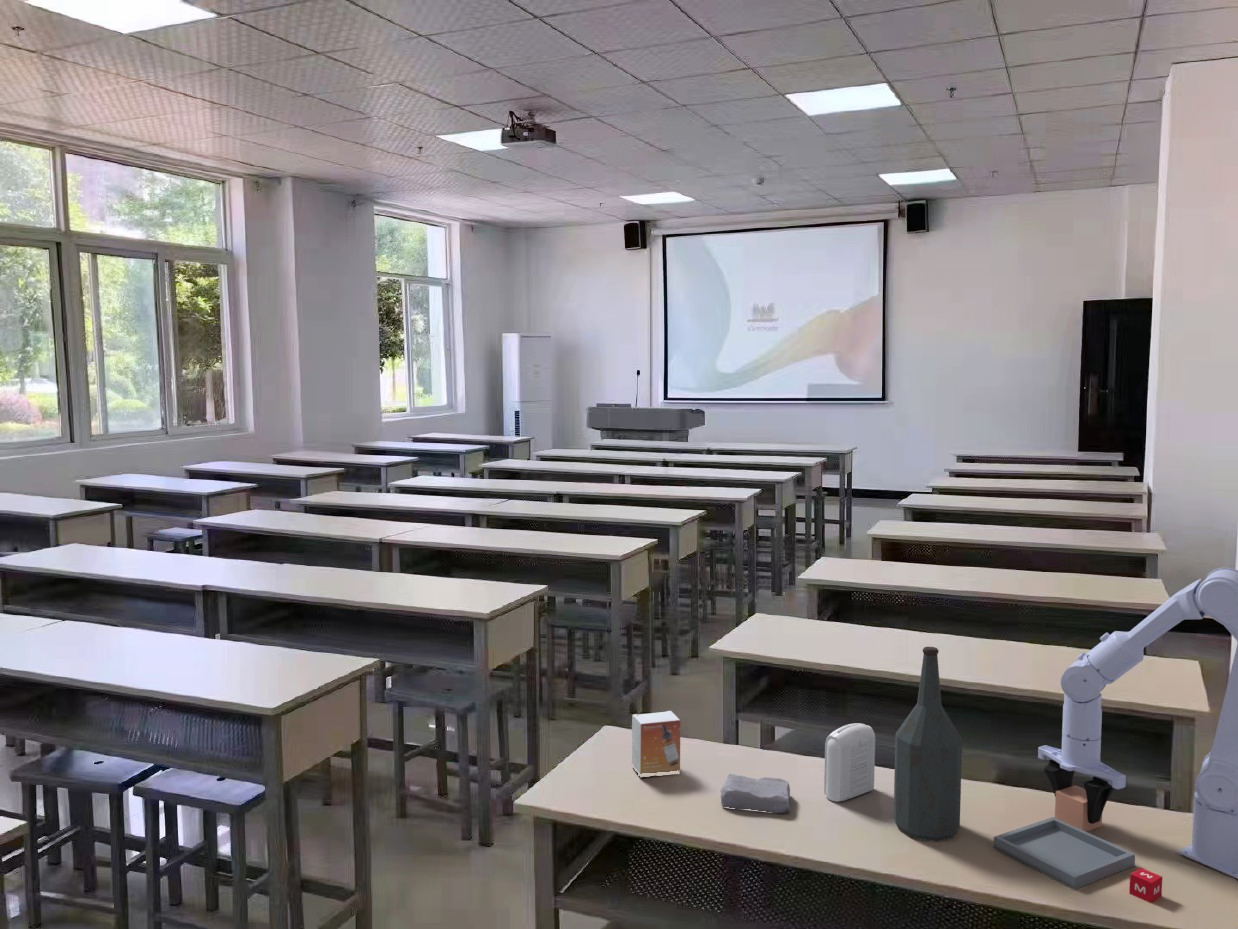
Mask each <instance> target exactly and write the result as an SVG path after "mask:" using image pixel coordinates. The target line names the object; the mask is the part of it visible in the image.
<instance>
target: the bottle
mask: <svg viewBox="0 0 1238 929" xmlns="http://www.w3.org/2000/svg"><path fill="white" fill-rule="evenodd" d="M922 653H923V658H922V664H921V672H920V679H919V686H918V694H917V701H916V702H917V703H916V704H915V706H914V707H913V708H912V710H911V711H910V713H909V714H908V716H906V718H905V719H904V720H903V722H902V724H901V725H900V726H899V728H898V729H897V731H896V732H895V736H894V737H895V739H894V740H895V741H894V743H895V744H894V779H893V780H894V783H893V785H894V786H893V820H894V823H895V825H896V827H897V829H898V830H900V831H901V832H903V833H904V834H905V835H907V836H909V837H911V838H914V839H917V840H923V841H931V840H933V842H940V841H944V840H949V839H952V838H953V837H954V836H955V835H956V833H958V832H957V831H958V829H959V828H960V826H961V799H962V798H961V797H962V796H961V795H962V792H961V791H962V763H963V762H962V760H963V759H962V758H963V757H962V756H963V738H962V736H961V735H960V734H959V732H958V730H957V728H956V727H955V725H954V724H953V722H952V720H951V719H950V716H949V715H948V713H947V712H946V710H945V708H944V707H943V705H942V695H941V694H942V693H941V684H940V682H941V681H940V671H939V660H938V659H939V658H938V654H939V649H938V647H934V646H924V647H923V648H922Z"/></svg>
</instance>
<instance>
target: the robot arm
mask: <svg viewBox="0 0 1238 929" xmlns="http://www.w3.org/2000/svg"><path fill="white" fill-rule="evenodd" d="M1201 581H1202V578H1199V579H1197V580H1195V581H1193V582H1192V583H1190V584H1189V585H1186V586H1185V587H1184V588H1182V589H1180V590H1179V591H1177V592H1176V593H1174V594H1173V595H1172V596H1170V597H1169V598H1168V599H1167V600H1166V601H1165V602H1164V603H1162V604H1161V605H1160V606H1158V607H1157V608H1156V609H1155V610H1153V612H1151V613H1150V614H1148V616H1147V617H1145V618H1144V619H1143V620H1142V621H1140V622H1138V624H1136V626H1134V627H1133V628H1131V630H1130V631H1121V630H1120V631H1119V630H1118V631H1117V630H1114V631H1113V632H1112V633H1111V634H1110V633H1109V632H1105V633H1104V634H1103V635H1102V636H1100V637H1099V640H1100V641H1101V642H1099V643H1098V644H1097V645H1095V646H1094V647H1093V648H1091V649H1090V650H1089V651H1088V652H1086V653H1085V652H1082V653H1080V654H1079V655H1078V656H1077V659H1078V660H1076V661H1074V662H1072V663H1071V665H1069V667H1067V668H1066V670H1064V671H1063V673H1062V676H1061V678H1060V687H1061V690H1062V692H1063V694H1064V695H1063V698H1064V699H1063V706H1062V729H1061V749H1060V748H1057V747H1052V746H1050V745H1047V744H1046V745H1041V746H1039V747H1038V749H1037V752H1038V753H1037V754H1038V755H1037V758H1038V759H1040V760H1043V761H1044V760H1045V761H1046V760H1048V764H1047V765H1045V766H1044V767H1043V772H1044V773H1045V775H1046V776H1047V779H1048V780H1049V782H1050V785H1051V789H1052V790H1053V793H1054V798H1055V799H1056V791H1059V790H1062V789H1065V788H1068V787H1071V786H1072V783H1073V778H1074V774H1075V772H1077V773H1079V774H1083V775H1084V776H1087V777H1090V778H1092V779H1091V780H1087V781H1085V782H1083V787H1084V789H1085V790H1086V795H1087V802H1088V811H1087V816H1088V822H1089V823H1091V824H1094V823H1097V822H1099V821H1100V818H1101V815H1102V816H1103V812H1104V808H1105V806H1106V804H1107V802H1108V800H1109V798H1110V797H1111V795H1112V794H1113V792H1114V791H1115V790H1121V789H1124V788H1126V786H1127V785H1126V781H1127V780H1126V779H1127V776H1126V775H1127V774H1126V775H1125V774H1123V773H1122V772H1118V771H1117V770H1115V769H1114V768H1112V767H1111V766H1109V765H1108V764H1105V763H1103V761H1101V748H1102V745H1101V744H1102V721H1103V720H1102V719H1103V717H1102V716H1103V709H1102V693H1101V692H1102V691H1103V690H1104V689H1105V688H1106V686H1107V685H1111V684H1113V683H1115V681H1118V680H1119V679H1120V678H1121V677H1122V676H1124V675H1125V674H1127V673H1128V672H1129V671H1131V670H1132V669H1134V668H1135V667H1136V666H1137V665H1139V664H1140V663H1141V662H1143V661H1144V658H1145V657H1144V648H1145V647H1147V646H1148V645H1150V644H1151V643H1153V642H1155V640H1157V639H1158V638H1160V637H1161V636H1163V635H1164V634H1165V633H1167V632H1169V631H1170V630H1172V628H1174V627H1175V626H1177V625H1178V624H1180V623H1181V622H1182V621H1184V620H1203V619H1204V617H1205V616H1206V615H1207V616H1208V617H1210V618H1211V619H1213V620H1214V621H1216V622H1218V623H1219V624H1221V625H1223V626H1224V627H1225V629H1226V630H1227V631H1228V632H1229V633H1230V634H1231V635H1232V637H1234V638H1233V639H1235V640H1236V642H1237V644H1236V648H1235V654H1234V656H1233V661H1232V665H1231V668H1230V669H1231V670H1230V673H1229V677H1228V682H1227V685H1226V690H1225V694H1224V697H1223V698H1224V699H1223V703H1222V706H1221V710H1220V715H1219V719H1218V721H1217V722H1218V723H1217V727H1216V731H1215V736H1214V739H1213V743H1212V746H1211V750H1210V752H1209V753H1208V754H1206V756H1205V757H1204V759H1203V760H1202V763H1201V769H1200V772H1199V773H1198V775H1197V776H1196V779H1195V781H1194V787H1195V788H1194V789H1195V792H1194V793H1193V797H1194V798H1193V815H1192V831H1191V832H1192V834H1191V844H1190V845H1188V846H1185V847H1183V848H1181V849H1178V853H1179V855H1182V856H1184V857H1187V858H1188V859H1190V860H1193V861H1196V862H1197V863H1200V864H1202V865H1205V866H1207V867H1209V868H1212V869H1215V870H1217V871H1219V872H1221V873H1223V874H1225V875H1228V876H1230V877H1232V878H1235V879H1237V880H1238V570H1237V569H1236V568H1232V567H1219V568H1215V569H1213V570H1211V571H1210V572H1208V574H1207V575H1206V576H1205V577H1204V580H1203V581H1202V582H1201Z"/></svg>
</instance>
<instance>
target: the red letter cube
mask: <svg viewBox="0 0 1238 929" xmlns="http://www.w3.org/2000/svg"><path fill="white" fill-rule="evenodd" d="M1128 889H1129V891H1128V892H1129V895H1131V896H1134V897H1136V898H1138V899H1141V900H1142V901H1144V902H1147V903H1149V904H1153V903H1154V902H1155V901H1157V900H1158V899H1160V898H1162V894H1163V893H1162V892H1163V876H1162V875H1159V874H1156V873H1155V872H1152V871H1149V870H1147V869H1145V868H1142V867H1140V868H1138V869H1136V870H1135V871H1133V872H1131V873H1129V888H1128Z"/></svg>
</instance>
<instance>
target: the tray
mask: <svg viewBox="0 0 1238 929" xmlns="http://www.w3.org/2000/svg"><path fill="white" fill-rule="evenodd" d="M993 849H995V850H997V851H998V852H1000V853H1002V854H1004V855H1007V856H1009V857H1011V858H1013V859H1014V860H1016V861H1018V862H1021V863H1022V864H1024V865H1026V866H1028V867H1030V868H1032V869H1033V870H1035V871H1038V872H1039V871H1040V872H1039V873H1042V874H1044V875H1045V876H1047V877H1049V878H1051V879H1053V880H1055V881H1057V882H1058V883H1060V884H1062V885H1065V886H1067V887H1069V888H1071V889H1073V890H1076V889H1079V888H1081V887H1084V886H1086V885H1089V884H1091V883H1094V882H1096V881H1099V880H1102V879H1105V878H1107V877H1110V876H1112V875H1114V873H1115V874H1116V873H1120V872H1121V871H1124V870H1127V869H1130V868H1132V867H1135V864H1136V853H1134V852H1132V851H1130V850H1127V849H1125V848H1122V847H1121V846H1118V845H1116V844H1114V843H1112V842H1110V841H1107V840H1105V839H1104V838H1103V839H1102V838H1101V837H1098V836H1096V835H1094V834H1091V833H1090V832H1089V831H1086V832H1085V831H1083V830H1081V829H1079V828H1077V827H1074V826H1072V825H1070V824H1068V823H1065V822H1063V821H1061V820H1059V819H1057V818H1055V816H1052V817H1048V818H1045V819H1043V820H1041V821H1036V822H1034V823H1031V824H1028V825H1025V826H1022V827H1019V828H1016V829H1013V830H1009V831H1006V832H1004V833H1002V834H1001V833H1000V834H998V835H995V836H994V837H993ZM1104 877H1105V878H1104Z"/></svg>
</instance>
